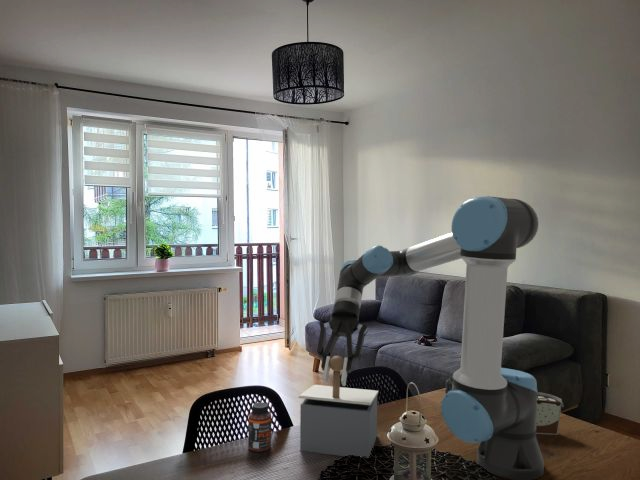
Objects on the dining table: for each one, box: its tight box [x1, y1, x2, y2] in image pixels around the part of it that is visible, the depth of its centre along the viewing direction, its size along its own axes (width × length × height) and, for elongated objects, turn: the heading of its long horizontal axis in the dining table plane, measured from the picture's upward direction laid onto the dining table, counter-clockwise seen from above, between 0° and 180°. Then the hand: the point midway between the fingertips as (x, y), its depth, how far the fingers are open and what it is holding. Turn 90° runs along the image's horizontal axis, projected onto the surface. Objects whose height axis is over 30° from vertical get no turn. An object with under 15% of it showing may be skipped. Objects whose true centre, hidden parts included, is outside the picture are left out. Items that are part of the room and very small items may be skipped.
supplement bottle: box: [247, 401, 272, 453], centre depth 122 cm, size 6×6×11 cm
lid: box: [298, 355, 379, 405], centre depth 125 cm, size 19×15×11 cm
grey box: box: [299, 395, 378, 457], centre depth 125 cm, size 18×14×12 cm
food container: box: [536, 392, 564, 436], centre depth 134 cm, size 12×6×10 cm, turn 84°
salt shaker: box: [440, 376, 453, 403], centre depth 145 cm, size 6×6×12 cm
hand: (333, 382), depth 117 cm, fingers closed on lid, 4 cm apart
